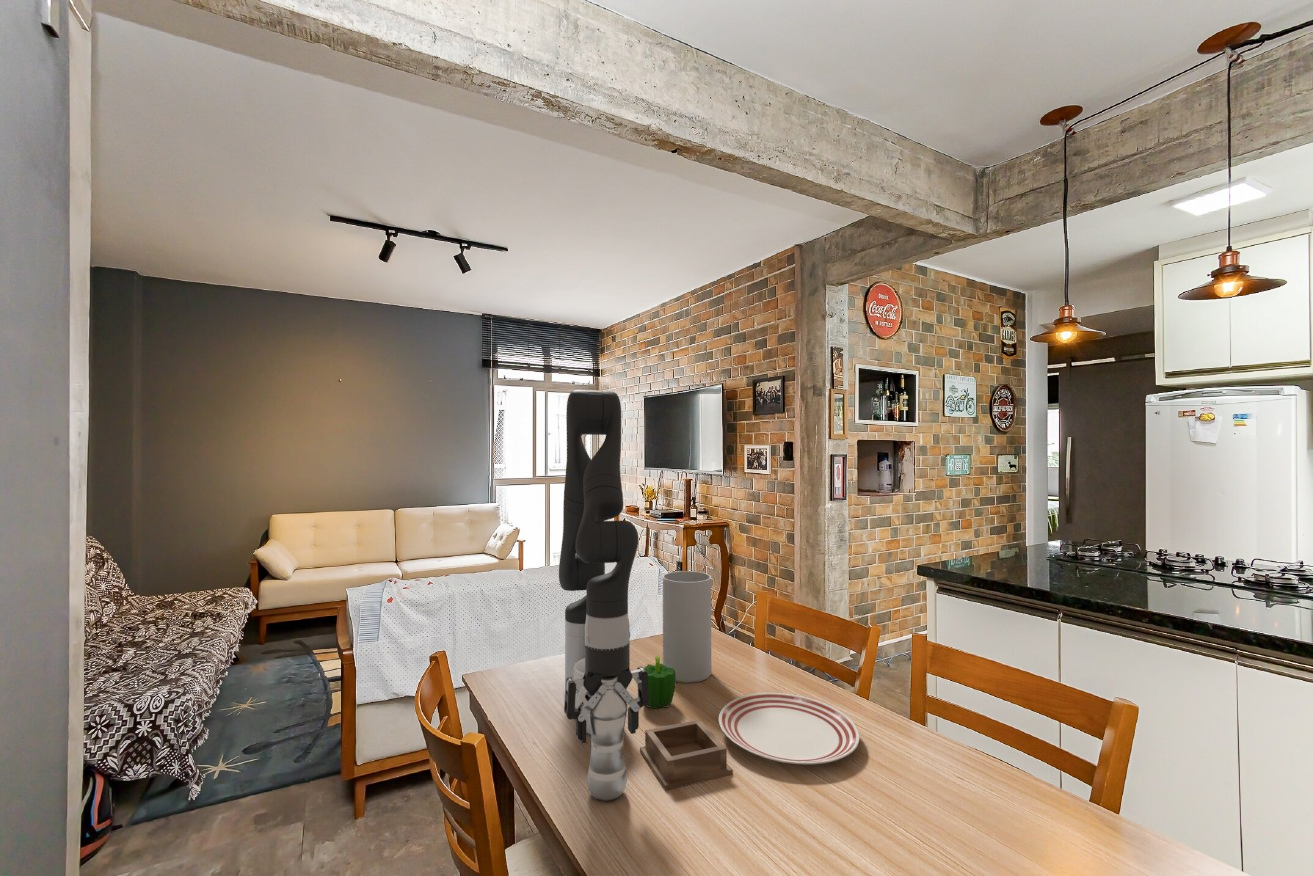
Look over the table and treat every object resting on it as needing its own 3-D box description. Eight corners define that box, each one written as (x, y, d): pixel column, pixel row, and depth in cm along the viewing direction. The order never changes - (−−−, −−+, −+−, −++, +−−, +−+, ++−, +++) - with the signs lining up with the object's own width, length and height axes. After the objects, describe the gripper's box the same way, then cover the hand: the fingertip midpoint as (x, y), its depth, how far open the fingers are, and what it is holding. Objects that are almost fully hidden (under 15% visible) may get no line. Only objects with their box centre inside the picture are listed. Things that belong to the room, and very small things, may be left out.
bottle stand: (639, 751, 108) (639, 729, 108) (701, 738, 112) (701, 717, 112) (665, 790, 96) (665, 764, 96) (732, 774, 100) (732, 749, 100)
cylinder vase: (713, 684, 138) (713, 582, 139) (662, 684, 138) (662, 582, 139) (709, 664, 151) (709, 571, 151) (662, 664, 151) (662, 571, 151)
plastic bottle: (587, 783, 97) (587, 667, 98) (626, 781, 98) (626, 666, 98) (586, 807, 91) (586, 683, 91) (627, 805, 92) (627, 681, 92)
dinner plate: (882, 736, 114) (881, 719, 114) (818, 798, 94) (818, 778, 94) (765, 695, 132) (765, 681, 133) (691, 740, 112) (691, 723, 112)
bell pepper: (669, 714, 122) (669, 668, 123) (634, 709, 125) (634, 664, 125) (680, 698, 130) (680, 655, 131) (647, 693, 133) (647, 651, 133)
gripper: (639, 628, 101) (640, 719, 101) (561, 637, 96) (561, 734, 95) (654, 641, 94) (654, 739, 94) (570, 652, 89) (570, 756, 88)
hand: (607, 736), depth 94 cm, fingers open, 8 cm apart
